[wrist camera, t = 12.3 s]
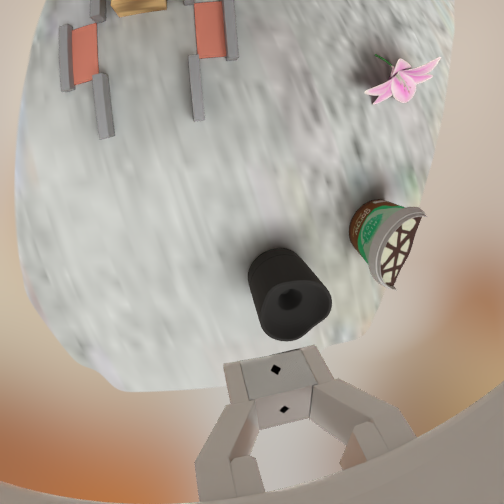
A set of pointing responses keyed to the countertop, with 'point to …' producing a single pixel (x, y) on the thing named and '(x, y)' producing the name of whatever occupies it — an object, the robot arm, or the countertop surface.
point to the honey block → (137, 6)
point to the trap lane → (86, 69)
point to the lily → (402, 81)
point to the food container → (384, 237)
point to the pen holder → (287, 295)
